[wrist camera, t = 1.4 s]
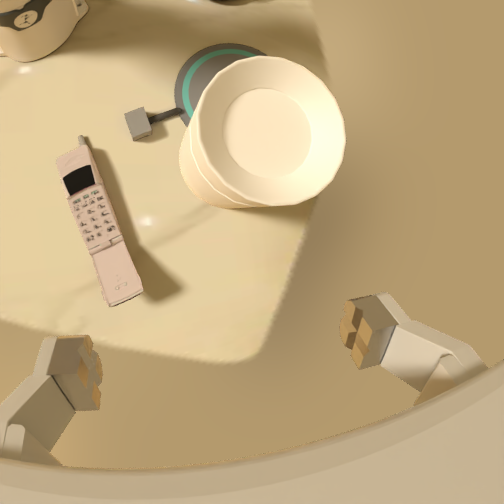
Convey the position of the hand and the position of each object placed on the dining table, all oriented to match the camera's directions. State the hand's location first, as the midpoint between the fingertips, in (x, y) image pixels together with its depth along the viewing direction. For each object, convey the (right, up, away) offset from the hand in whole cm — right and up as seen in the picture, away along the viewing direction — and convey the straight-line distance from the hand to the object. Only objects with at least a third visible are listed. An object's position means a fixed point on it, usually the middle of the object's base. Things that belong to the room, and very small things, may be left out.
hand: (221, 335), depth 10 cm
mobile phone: (-22, +8, +35) cm, 42 cm away
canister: (-3, +17, +40) cm, 43 cm away
